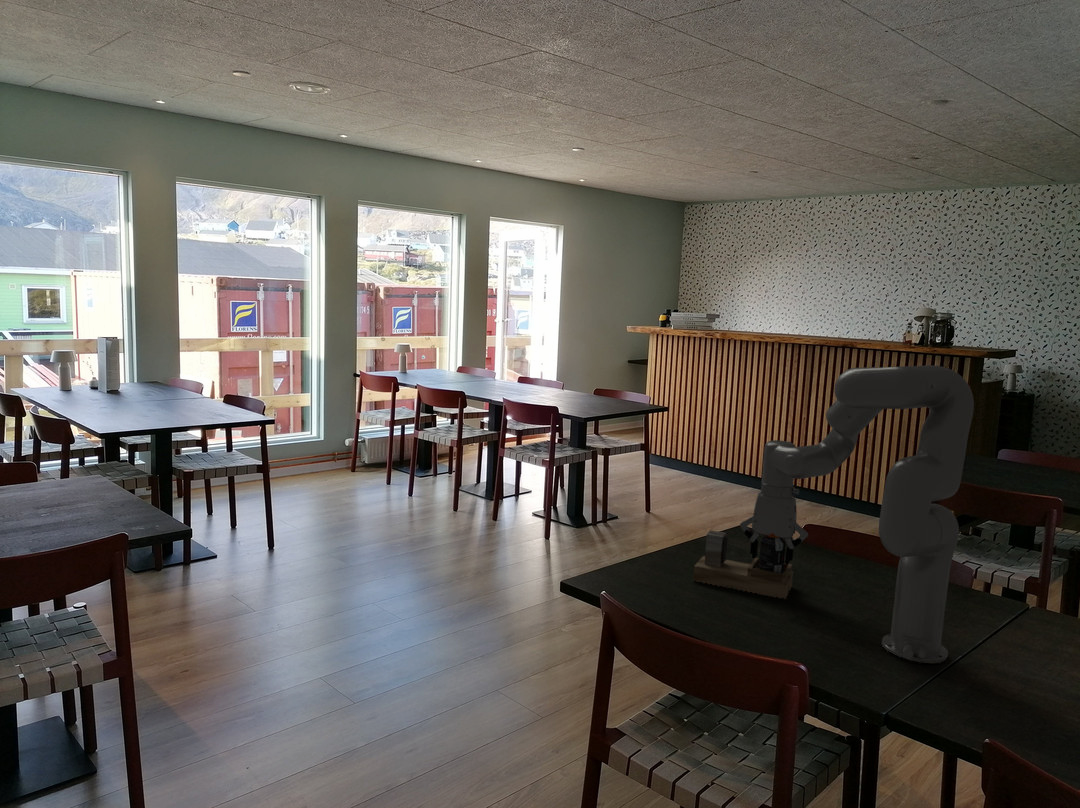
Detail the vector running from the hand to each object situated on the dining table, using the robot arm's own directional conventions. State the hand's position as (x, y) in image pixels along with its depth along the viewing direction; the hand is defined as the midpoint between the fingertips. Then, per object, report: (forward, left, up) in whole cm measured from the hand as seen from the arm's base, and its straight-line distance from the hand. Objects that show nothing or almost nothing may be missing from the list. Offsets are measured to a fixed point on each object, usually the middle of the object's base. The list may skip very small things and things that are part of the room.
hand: (770, 559), depth 196 cm
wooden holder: (0, +7, -8) cm, 10 cm away
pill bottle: (0, 0, -4) cm, 4 cm away
